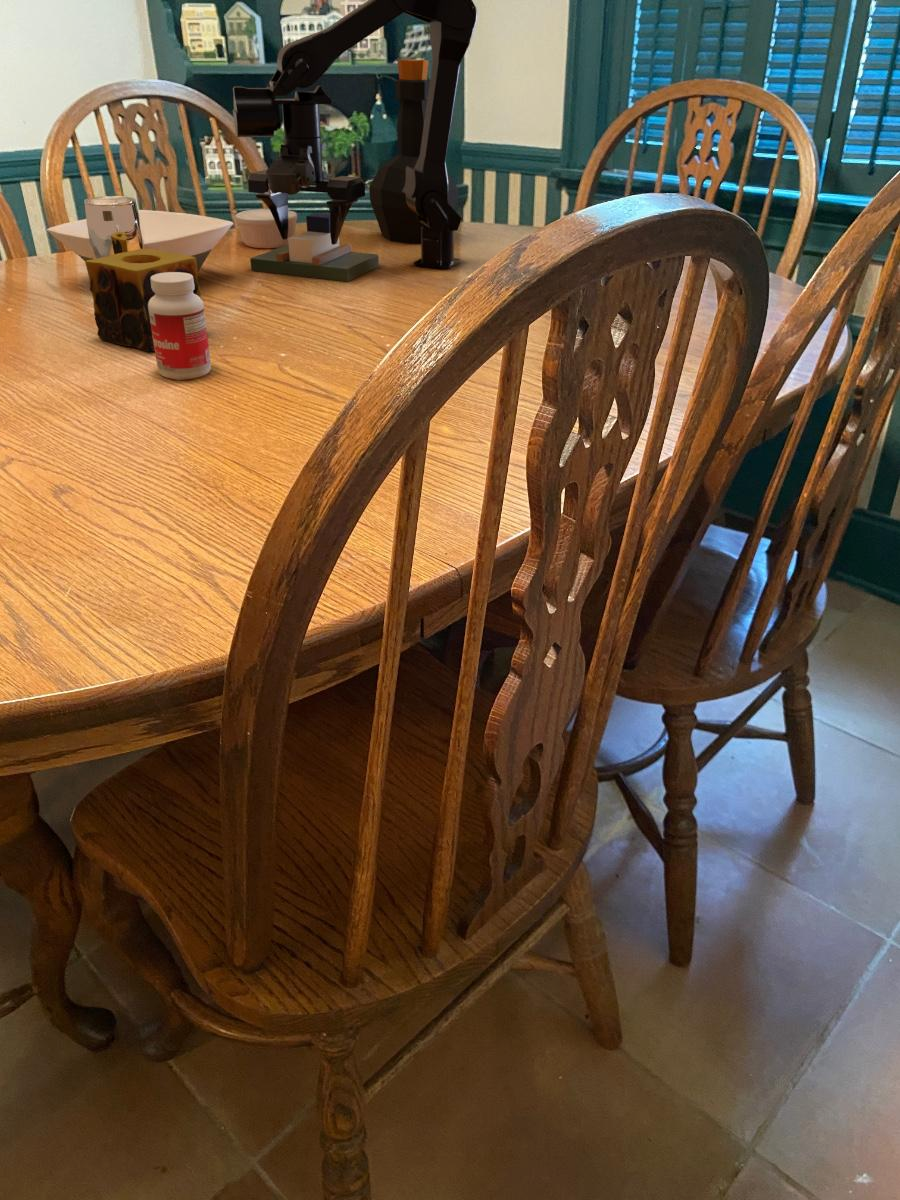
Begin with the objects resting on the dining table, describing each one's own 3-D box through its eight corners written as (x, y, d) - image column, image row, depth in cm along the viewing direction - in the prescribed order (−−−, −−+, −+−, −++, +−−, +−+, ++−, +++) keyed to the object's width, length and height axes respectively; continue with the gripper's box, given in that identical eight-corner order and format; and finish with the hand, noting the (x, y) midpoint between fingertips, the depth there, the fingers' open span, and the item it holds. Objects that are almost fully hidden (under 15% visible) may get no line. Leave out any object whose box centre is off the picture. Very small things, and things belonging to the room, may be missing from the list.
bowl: (44, 287, 140) (31, 229, 136) (149, 259, 157) (141, 207, 153) (152, 306, 132) (142, 245, 127) (251, 275, 149) (245, 220, 144)
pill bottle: (148, 372, 108) (132, 276, 102) (190, 360, 112) (177, 267, 106) (179, 384, 104) (164, 286, 98) (222, 372, 108) (211, 276, 102)
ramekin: (228, 247, 166) (225, 217, 164) (252, 236, 176) (249, 207, 173) (285, 251, 165) (283, 220, 162) (307, 239, 174) (305, 210, 171)
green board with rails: (287, 256, 161) (285, 237, 160) (378, 266, 156) (378, 247, 154) (251, 270, 152) (249, 250, 150) (347, 281, 146) (346, 261, 145)
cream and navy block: (318, 249, 157) (316, 212, 154) (340, 251, 156) (338, 214, 153) (289, 261, 149) (286, 222, 146) (312, 263, 148) (309, 224, 145)
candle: (150, 354, 113) (136, 271, 108) (96, 340, 118) (80, 260, 112) (209, 334, 121) (199, 256, 115) (155, 322, 125) (143, 246, 120)
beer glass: (140, 322, 125) (120, 205, 117) (94, 318, 126) (71, 202, 118) (163, 309, 131) (146, 197, 123) (119, 305, 132) (99, 194, 124)
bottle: (409, 249, 168) (408, 61, 152) (356, 235, 178) (349, 58, 162) (472, 238, 177) (476, 60, 161) (417, 225, 187) (416, 57, 171)
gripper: (222, 138, 138) (234, 245, 147) (332, 145, 133) (337, 256, 141) (261, 131, 147) (269, 233, 155) (365, 138, 141) (368, 243, 150)
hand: (309, 241), depth 150 cm, fingers open, 9 cm apart
